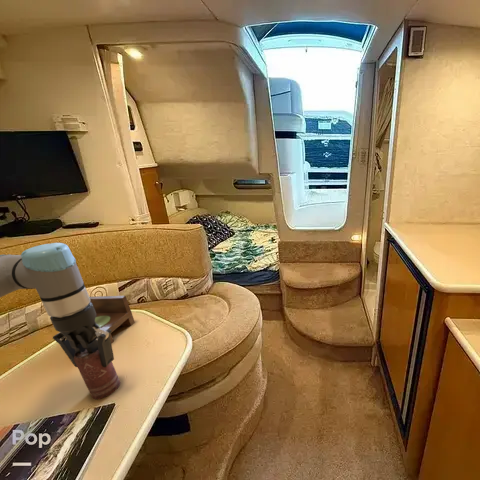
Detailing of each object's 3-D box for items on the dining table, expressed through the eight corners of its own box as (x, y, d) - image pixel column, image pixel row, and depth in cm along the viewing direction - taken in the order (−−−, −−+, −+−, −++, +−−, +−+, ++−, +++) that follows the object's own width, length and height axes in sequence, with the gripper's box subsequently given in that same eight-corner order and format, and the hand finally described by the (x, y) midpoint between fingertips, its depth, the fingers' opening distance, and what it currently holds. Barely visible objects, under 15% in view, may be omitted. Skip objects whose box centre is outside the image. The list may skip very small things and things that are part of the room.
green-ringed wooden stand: (69, 348, 88) (55, 317, 84) (100, 324, 99) (88, 296, 95) (109, 347, 87) (97, 316, 83) (135, 324, 98) (125, 295, 94)
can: (126, 385, 72) (109, 343, 67) (99, 405, 67) (79, 361, 62) (115, 377, 75) (97, 337, 70) (88, 396, 70) (67, 353, 65)
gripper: (112, 299, 65) (139, 373, 73) (58, 300, 66) (91, 373, 74) (85, 318, 58) (119, 398, 66) (25, 319, 59) (65, 397, 67)
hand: (104, 384), depth 70 cm, fingers closed
